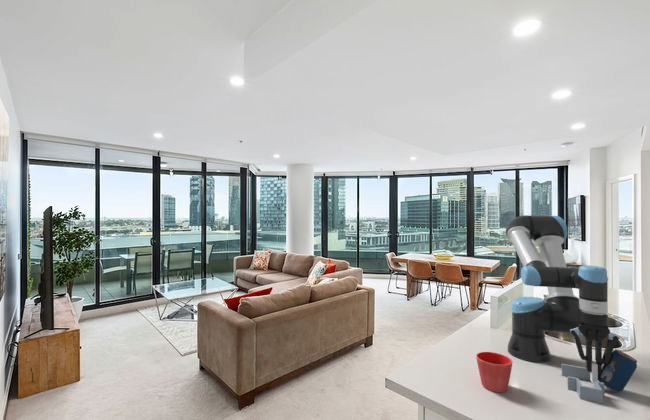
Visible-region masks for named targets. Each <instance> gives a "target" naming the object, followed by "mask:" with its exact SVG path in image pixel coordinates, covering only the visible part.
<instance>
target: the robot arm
mask: <svg viewBox="0 0 650 420" xmlns="http://www.w3.org/2000/svg"><path fill="white" fill-rule="evenodd" d="M505 236H506V239H507V240H508V242H510V243H511V244H512V245H513V248H514V250H515V252H516V254H517V256H518V258H519V261H520V262H521V264H522V267H521V270H520V279H521V281H522V283H523V284H524V286H525V285H526V286H531V287H532V286H533V287H542V288H543V287H547V293H548V296H547V297H546V299H545V300H544V299H543V298H541V297H534V296H523V297H522V296H520V297H518V298H515V299H513V300H512V302H511V319H512V320H511V330H512V331H511V335H510V338H509V341H508V344H507V352H508V353H509V354H510V355H512V357H515V358H517V359H520V360H523V361H528V362H534V363H546V362H549V361H550V360H551V351H550V349H549V345H548V343H547V341H546V332H549V333H550V332H551V333H559V334H561V333H562V334H570V335H572V336H573V338H574V342H575V345H576V348H577V349H576V350H577V352H578V355H579V357H580V359H581V360H582V361H585V364H586V367H585V368H586V369H587V371H588V372H590V380H591V381H590V382H591V383H592V384H593V385H594V381H596V382H599V381H598V374H601V373H602V371H601V368H602V366H603V364H608V363H609V361H610V357H611V354H612V352H613V351H614V347H615V345H616V343H617V342H618V341H619V340H620V338H619V337H618V335H616V334H613V332H611V330H610V328H609V316H608V312H609V309H608V308H609V307H608V306H609V305H608V296H609V295H608V292H609V291H608V290H609V289H608V286H609V285H608V283H609V282H608V281H609V277H608V270H607V269H606V267H603V266H597V265H590V264H589V265H587V264H585V265H584V264H583V265H580V266H568V267H567V263H566V260H565V255H564V251H563V246H562V245H563V244H564V242H565V239H566V240H567V237H568V226H567V224H566V222H565V220H564V219H563V218H562V217H560V216H558V215H551V214H547V215H519V216H516V217H514V218H513V219H511V220H510V221H509V222H508V224H507V225H506V227H505ZM537 247H538V249H539V251H538V249H537ZM573 289H578V297H577V296H576V295H575V294H574V291H573ZM579 335H583V337H584V338H585V339H584V340H585V352H584V348H583V345H582V343H581V339H580V337H579ZM606 338H608V339H607V342H606V344H605V347H604V351H603V349H602V348H603V346H602V345H603V340H604V339H606ZM593 341H594V352H595V353H594V356H595V357H594V360H593ZM602 352H603V353H602Z"/></svg>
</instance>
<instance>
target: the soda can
mask: <svg viewBox="0 0 650 420" xmlns="http://www.w3.org/2000/svg"><path fill="white" fill-rule="evenodd" d="M637 362H638V360H636V359H635V358H634V357H632V356H631V355H629V354H627V353H624V351H621V350H618V349H614V350H613V351H612V354H611V357H610V361H609V363H608V364H602V365H601V371H602V373H601V374H598V382H602V383H604V387H606V388H607V389H609V390H610V391H613V392H616V393H620V392H622V391H624V389H625V388H626V386H627V384H628V383H629V381H630V379H631V377H632V376H633V375H634V372H635V371H636V370H637V368H638V365H637Z"/></svg>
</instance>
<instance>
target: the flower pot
mask: <svg viewBox="0 0 650 420" xmlns="http://www.w3.org/2000/svg"><path fill="white" fill-rule="evenodd" d="M475 357H476V363H477V369H478V372H479V377H480V382H481V385H482V387H483V388H484V389H487V390H489V391H491V392H495V393H504V392H507V391H508V388H509V384H510V383H509V382H510V379H511V374H512V367H513V360H512V358H510V357H508V356H507V355H505V354H501V353H497V352H493V351H482V352H481V351H480V352H478V353H477V354H476V355H475Z"/></svg>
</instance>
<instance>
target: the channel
mask: <svg viewBox="0 0 650 420" xmlns="http://www.w3.org/2000/svg"><path fill="white" fill-rule="evenodd" d="M560 367H561V369H560V370H561V376H563V377H567V389H568V390H570V391H575V392H576V394H577V396H578V397H579V399H580V400H584V401H589V402H593V403H594V402H595V403H599V404H604V401H603V400H604V398H603V397H605V386H604V383H602V382H599V381H598V382H596V381H594V384H593V387H591V386H587V385H583V384H582V382H581V380H585V381H590V382H591V380H590V372H588V371H587V369H586V367H583V366H577V365H571V364H567V363H566V364H565V363H561V366H560Z"/></svg>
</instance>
